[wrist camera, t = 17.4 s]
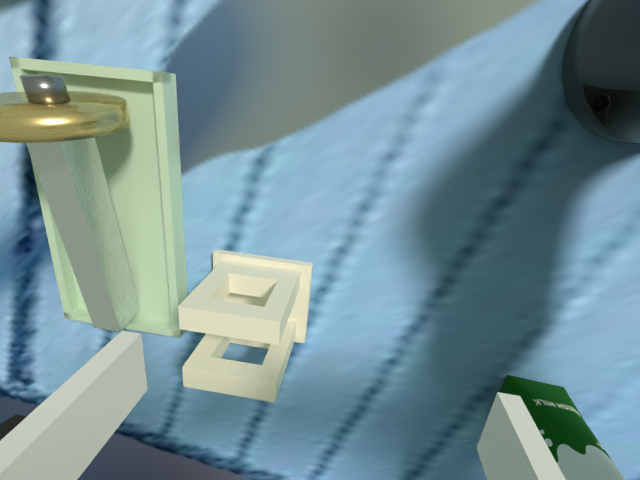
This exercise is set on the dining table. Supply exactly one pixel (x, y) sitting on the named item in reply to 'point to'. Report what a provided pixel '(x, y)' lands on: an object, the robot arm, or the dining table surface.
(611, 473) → the milk carton
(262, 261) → the double loop bracket
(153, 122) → the tray
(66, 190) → the gold disc post
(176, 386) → the dining table surface
